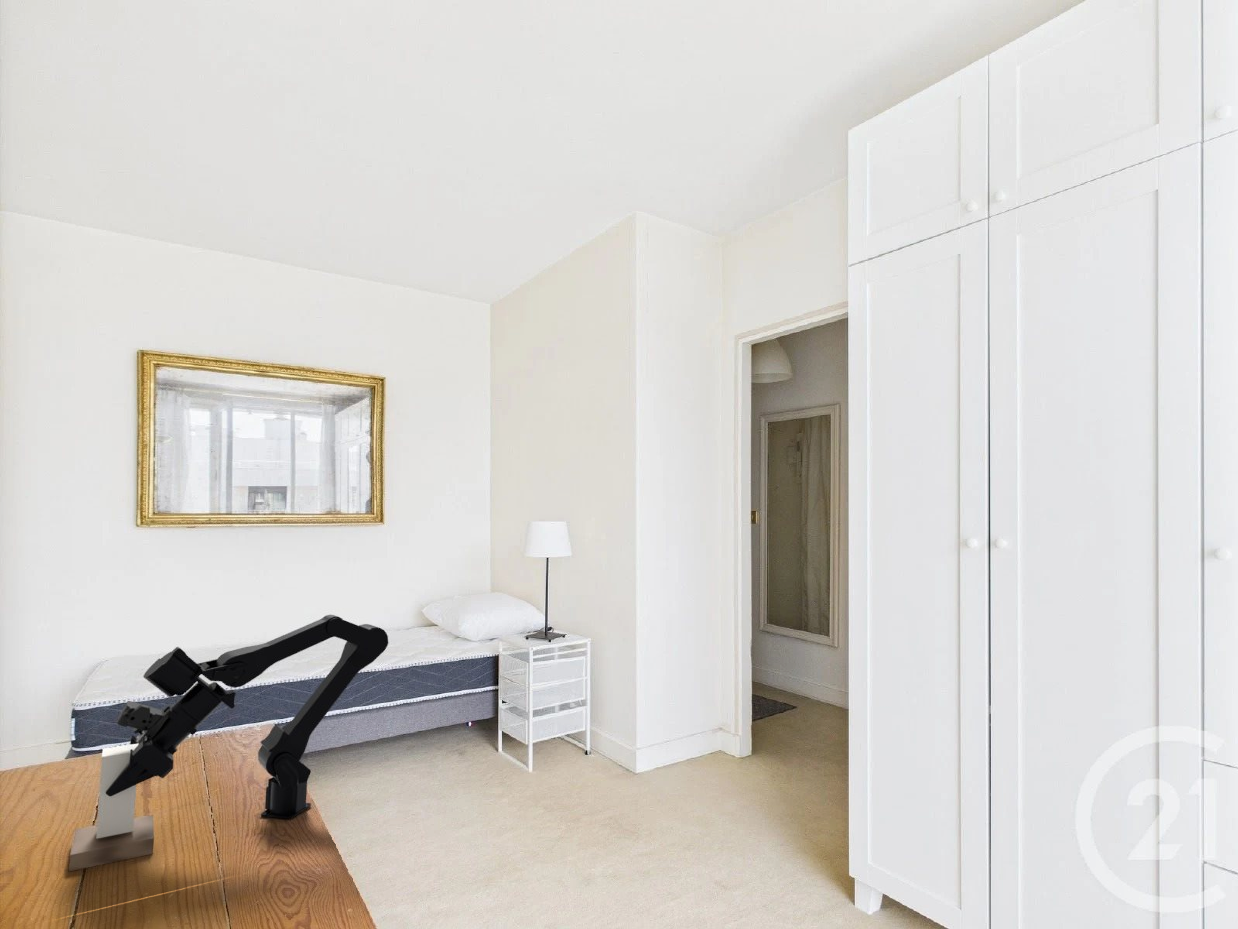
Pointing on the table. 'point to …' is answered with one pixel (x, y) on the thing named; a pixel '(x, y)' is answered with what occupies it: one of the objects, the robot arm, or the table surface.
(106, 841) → the walnut plinth
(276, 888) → the table surface
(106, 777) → the cream block
